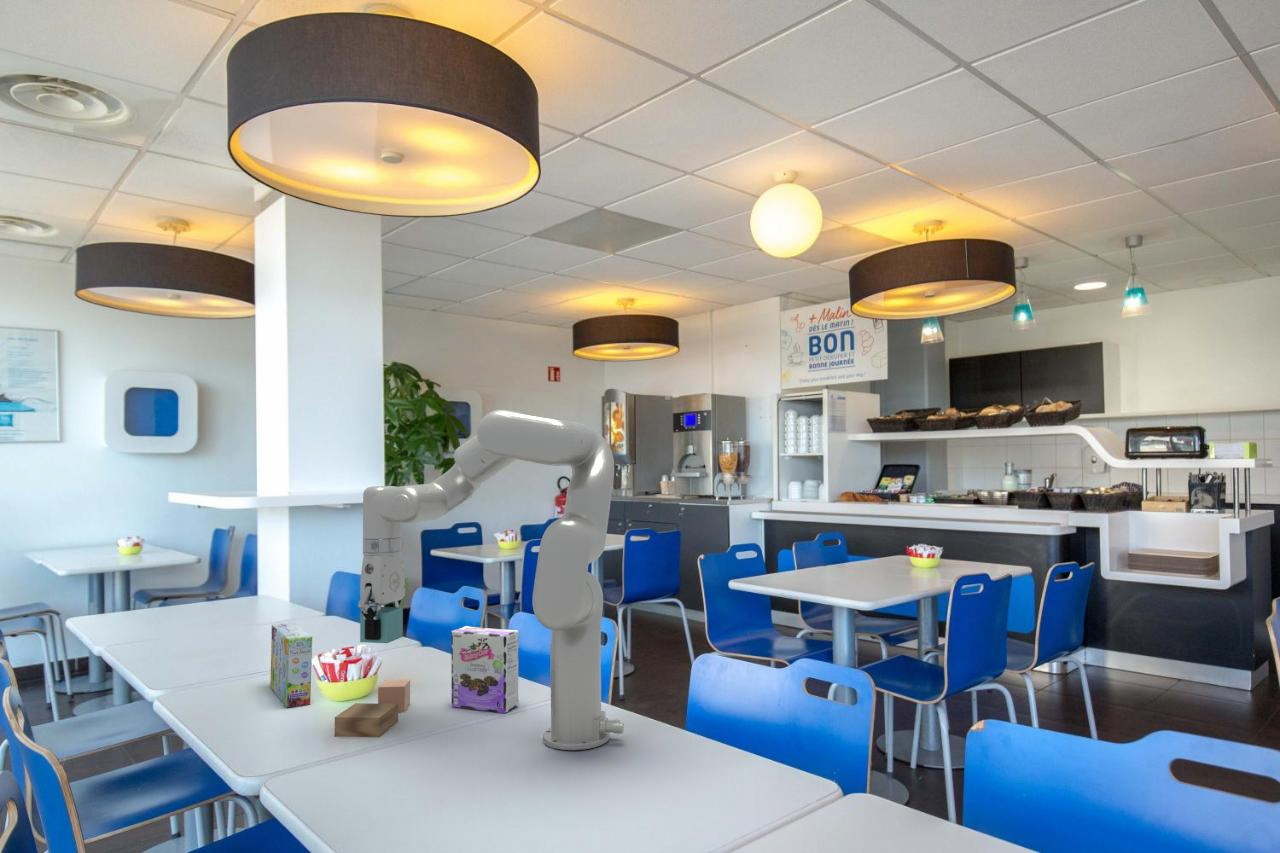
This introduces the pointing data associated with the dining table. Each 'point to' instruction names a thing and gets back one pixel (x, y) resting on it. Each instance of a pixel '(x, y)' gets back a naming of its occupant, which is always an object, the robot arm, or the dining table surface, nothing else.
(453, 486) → the robot arm
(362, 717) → the walnut block
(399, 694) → the terracotta cube
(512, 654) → the candy box
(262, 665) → the dining table surface
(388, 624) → the teal cube
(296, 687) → the snack box
